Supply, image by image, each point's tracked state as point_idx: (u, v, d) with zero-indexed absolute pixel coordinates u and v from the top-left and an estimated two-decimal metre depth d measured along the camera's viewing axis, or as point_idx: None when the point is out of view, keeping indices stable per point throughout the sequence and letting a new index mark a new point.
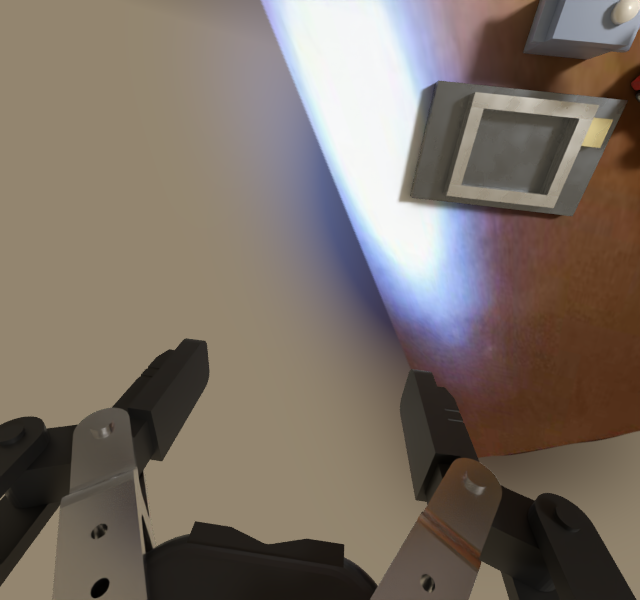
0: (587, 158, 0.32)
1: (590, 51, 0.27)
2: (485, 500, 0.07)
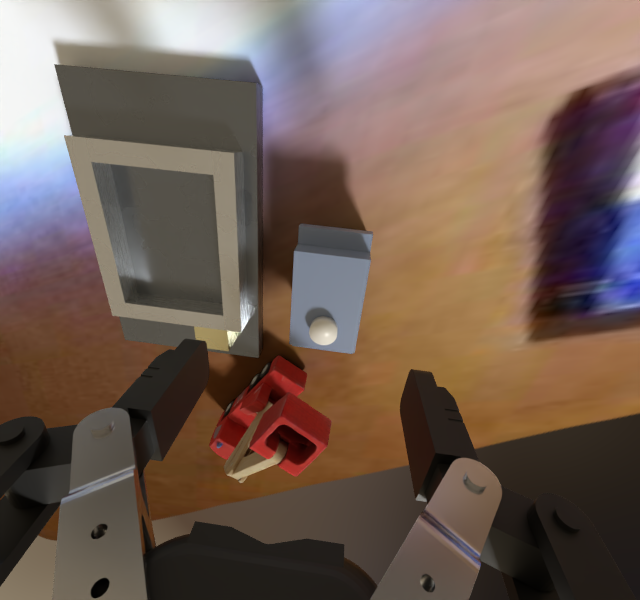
0: (192, 337, 0.24)
1: None
2: (485, 500, 0.07)
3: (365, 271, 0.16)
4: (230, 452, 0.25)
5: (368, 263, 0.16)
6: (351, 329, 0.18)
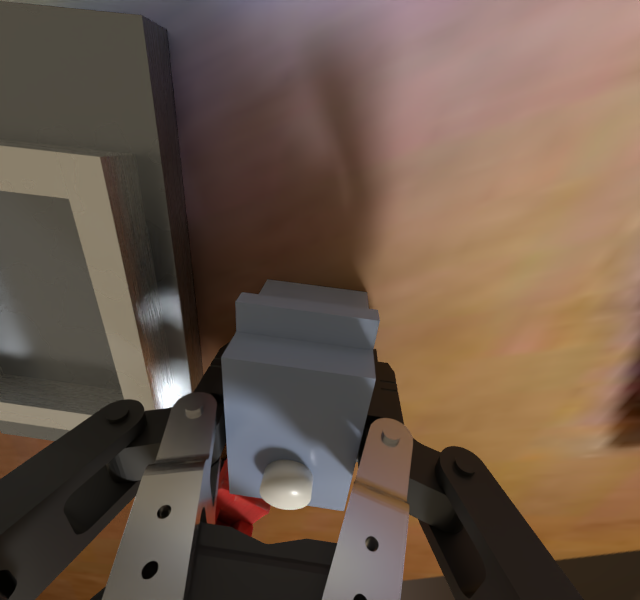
0: None
1: None
2: (395, 451, 0.08)
3: (364, 396, 0.08)
4: None
5: (371, 384, 0.08)
6: (338, 480, 0.10)
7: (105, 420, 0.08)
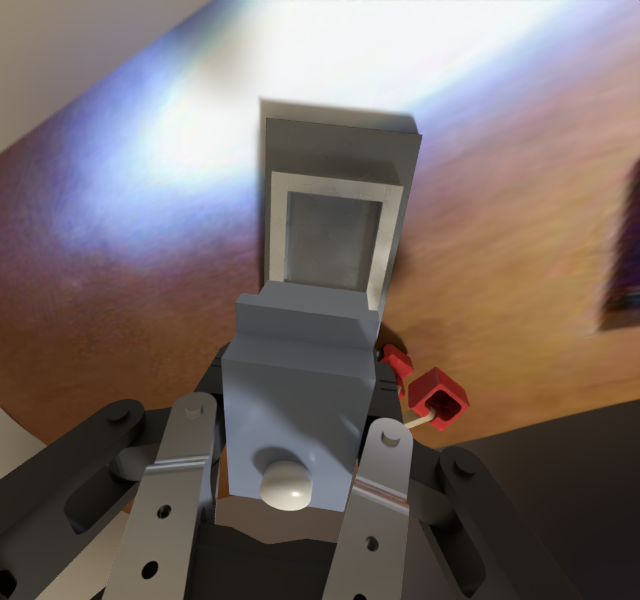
0: None
1: None
2: (395, 451, 0.08)
3: (364, 397, 0.08)
4: None
5: (371, 385, 0.08)
6: (338, 481, 0.10)
7: (105, 420, 0.08)
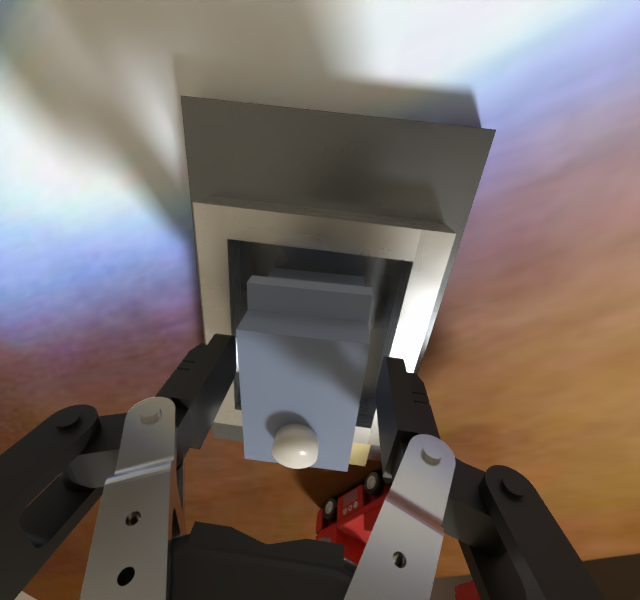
0: None
1: None
2: (438, 470, 0.08)
3: (361, 361, 0.09)
4: None
5: (366, 349, 0.09)
6: (341, 442, 0.11)
7: (54, 428, 0.08)
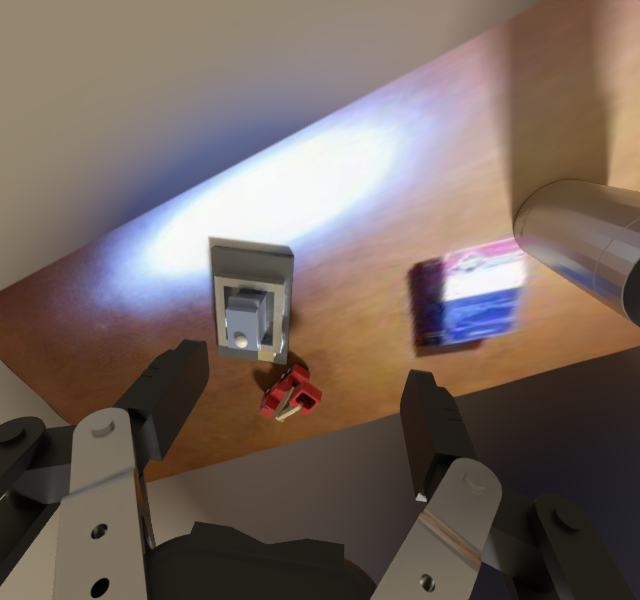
0: (254, 354, 0.49)
1: None
2: (485, 500, 0.07)
3: (254, 317, 0.40)
4: (271, 412, 0.50)
5: (255, 314, 0.40)
6: (254, 340, 0.42)
7: None
